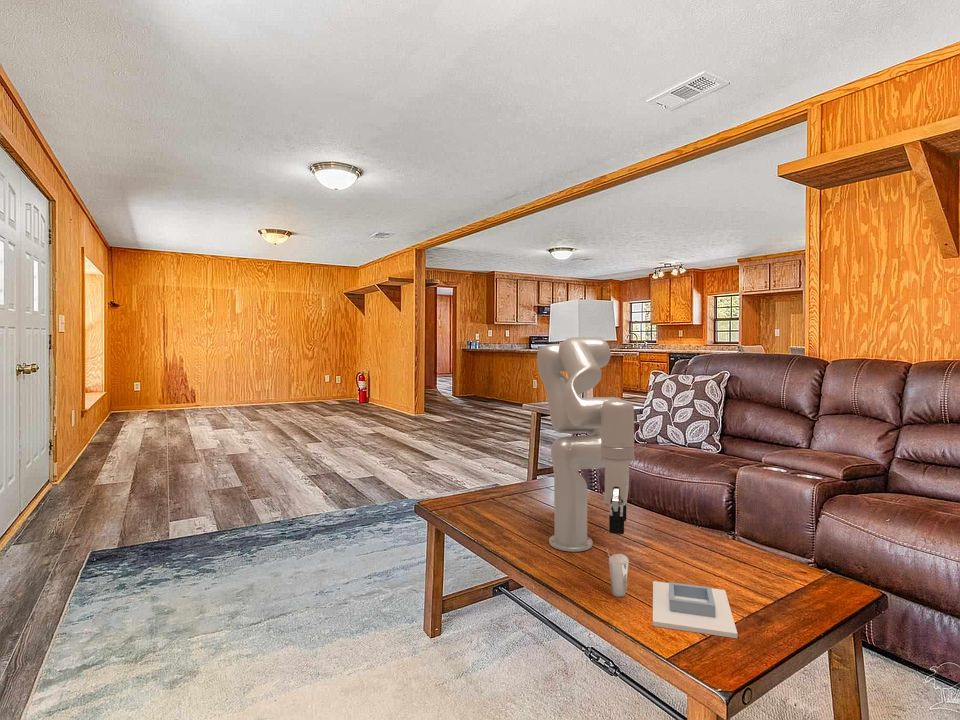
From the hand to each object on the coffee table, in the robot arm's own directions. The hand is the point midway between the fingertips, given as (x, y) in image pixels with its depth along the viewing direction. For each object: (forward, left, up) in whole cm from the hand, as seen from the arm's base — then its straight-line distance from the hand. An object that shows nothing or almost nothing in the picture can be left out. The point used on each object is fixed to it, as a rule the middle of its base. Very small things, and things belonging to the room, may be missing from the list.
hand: (618, 526), depth 125 cm
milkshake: (0, 0, -16) cm, 16 cm away
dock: (+3, +16, -16) cm, 23 cm away
